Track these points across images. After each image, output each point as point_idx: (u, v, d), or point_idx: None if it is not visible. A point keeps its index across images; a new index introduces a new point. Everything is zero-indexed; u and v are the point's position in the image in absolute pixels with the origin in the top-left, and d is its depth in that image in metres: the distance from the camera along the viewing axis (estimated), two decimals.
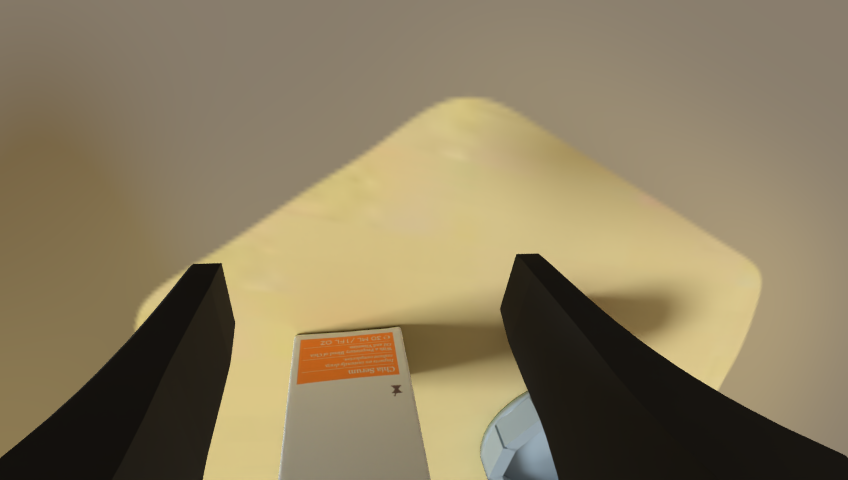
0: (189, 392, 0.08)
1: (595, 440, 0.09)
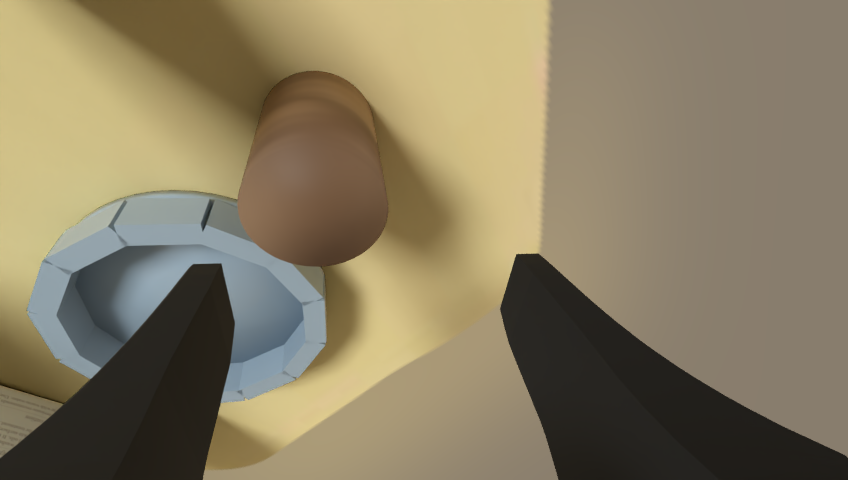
0: (189, 392, 0.08)
1: (595, 440, 0.09)
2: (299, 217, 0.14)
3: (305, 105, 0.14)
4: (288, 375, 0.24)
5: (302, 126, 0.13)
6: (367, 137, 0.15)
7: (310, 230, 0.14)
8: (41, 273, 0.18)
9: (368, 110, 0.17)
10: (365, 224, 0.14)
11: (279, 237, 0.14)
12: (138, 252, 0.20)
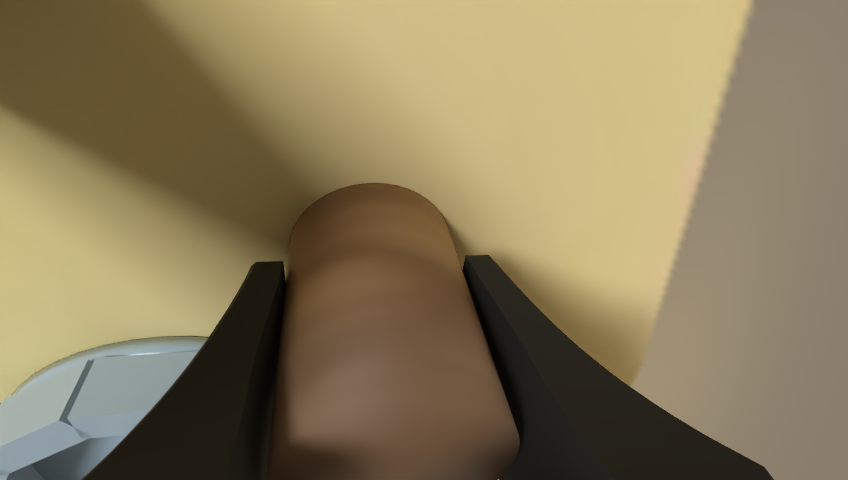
0: (265, 386, 0.09)
1: (528, 448, 0.08)
2: (369, 479, 0.08)
3: (374, 271, 0.09)
4: None
5: (379, 334, 0.08)
6: (472, 317, 0.09)
7: None
8: None
9: (450, 238, 0.12)
10: (476, 473, 0.09)
11: None
12: None
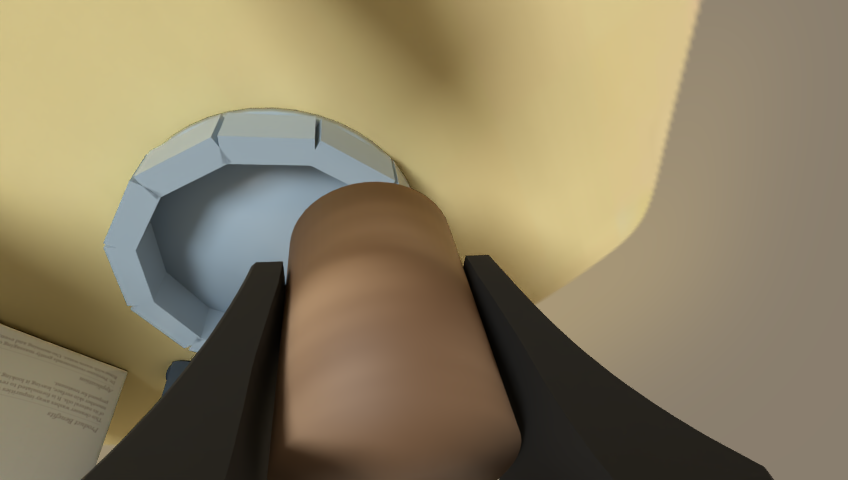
0: (265, 386, 0.09)
1: (528, 448, 0.08)
2: (370, 478, 0.08)
3: (377, 269, 0.09)
4: None
5: (382, 332, 0.08)
6: (474, 317, 0.09)
7: None
8: (126, 195, 0.15)
9: (452, 237, 0.12)
10: (476, 472, 0.09)
11: None
12: (226, 182, 0.17)
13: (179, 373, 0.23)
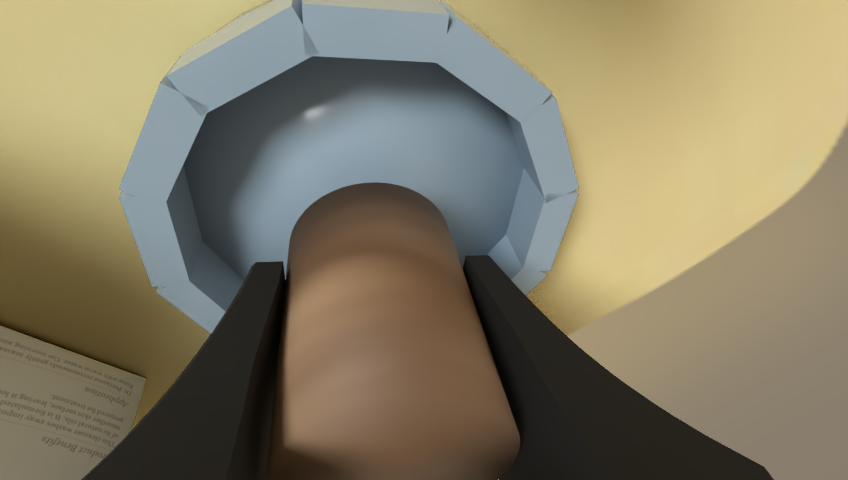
0: (265, 386, 0.09)
1: (528, 448, 0.08)
2: (370, 478, 0.08)
3: (378, 270, 0.09)
4: None
5: (384, 333, 0.07)
6: (474, 319, 0.09)
7: None
8: (155, 109, 0.10)
9: (451, 239, 0.12)
10: (475, 474, 0.09)
11: None
12: (294, 105, 0.12)
13: None
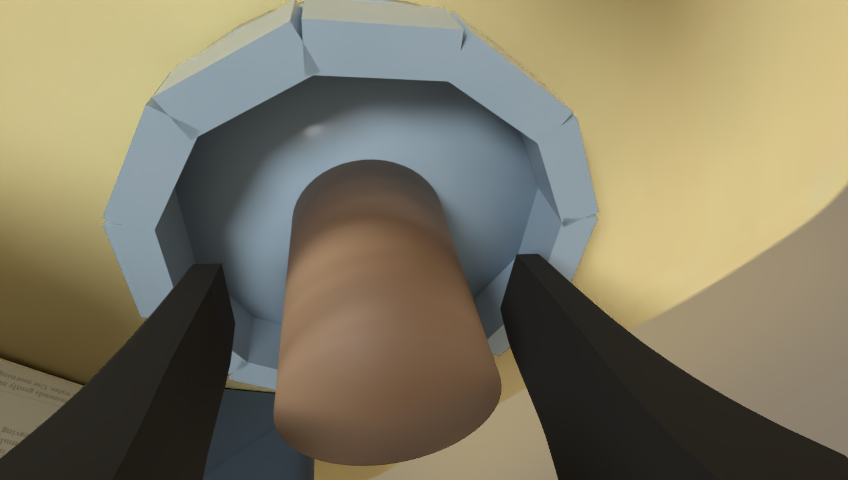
0: (189, 392, 0.08)
1: (595, 440, 0.09)
2: (366, 417, 0.09)
3: (374, 234, 0.10)
4: None
5: (378, 285, 0.08)
6: (462, 279, 0.10)
7: (379, 430, 0.09)
8: (141, 133, 0.09)
9: (443, 213, 0.12)
10: (461, 417, 0.09)
11: (331, 440, 0.09)
12: (293, 124, 0.11)
13: None
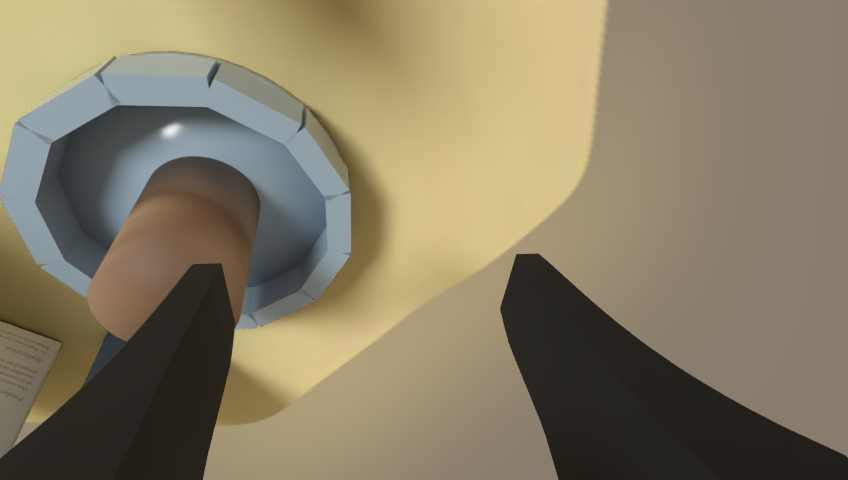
0: (189, 392, 0.08)
1: (595, 440, 0.09)
2: (152, 312, 0.15)
3: (167, 202, 0.15)
4: (306, 295, 0.21)
5: (152, 230, 0.14)
6: (228, 231, 0.16)
7: None
8: (14, 141, 0.15)
9: (247, 192, 0.18)
10: None
11: (135, 329, 0.15)
12: (131, 133, 0.17)
13: (113, 343, 0.23)
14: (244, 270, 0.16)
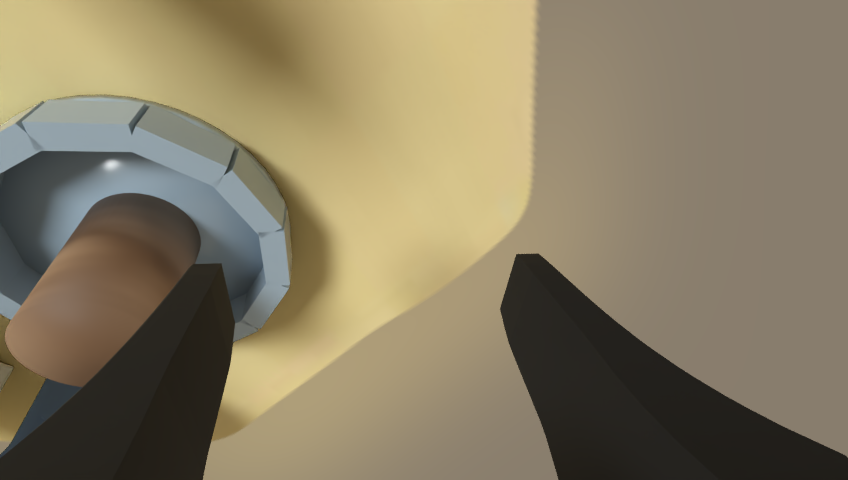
0: (189, 392, 0.08)
1: (595, 440, 0.09)
2: (73, 353, 0.15)
3: (93, 243, 0.16)
4: (249, 325, 0.21)
5: (72, 273, 0.14)
6: (153, 272, 0.16)
7: (88, 362, 0.15)
8: None
9: (183, 228, 0.19)
10: None
11: (58, 368, 0.15)
12: (65, 171, 0.17)
13: None
14: None
